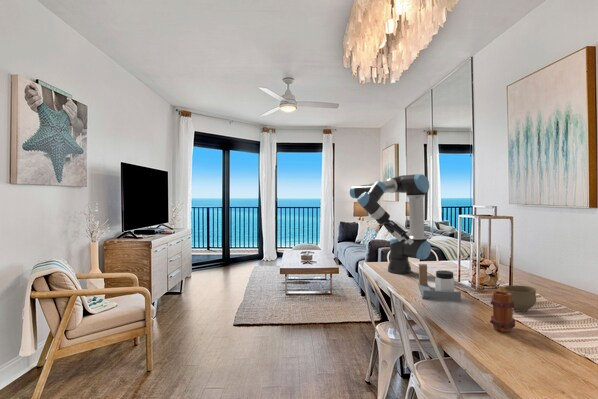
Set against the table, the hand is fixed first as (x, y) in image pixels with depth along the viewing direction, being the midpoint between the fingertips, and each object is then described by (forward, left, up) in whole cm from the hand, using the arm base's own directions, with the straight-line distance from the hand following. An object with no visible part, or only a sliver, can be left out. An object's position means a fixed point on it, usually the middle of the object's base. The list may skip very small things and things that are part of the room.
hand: (406, 241), depth 186 cm
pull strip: (+8, +15, -26) cm, 31 cm away
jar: (+13, +18, -26) cm, 34 cm away
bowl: (+29, +46, -26) cm, 60 cm away
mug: (+52, +33, -26) cm, 67 cm away
